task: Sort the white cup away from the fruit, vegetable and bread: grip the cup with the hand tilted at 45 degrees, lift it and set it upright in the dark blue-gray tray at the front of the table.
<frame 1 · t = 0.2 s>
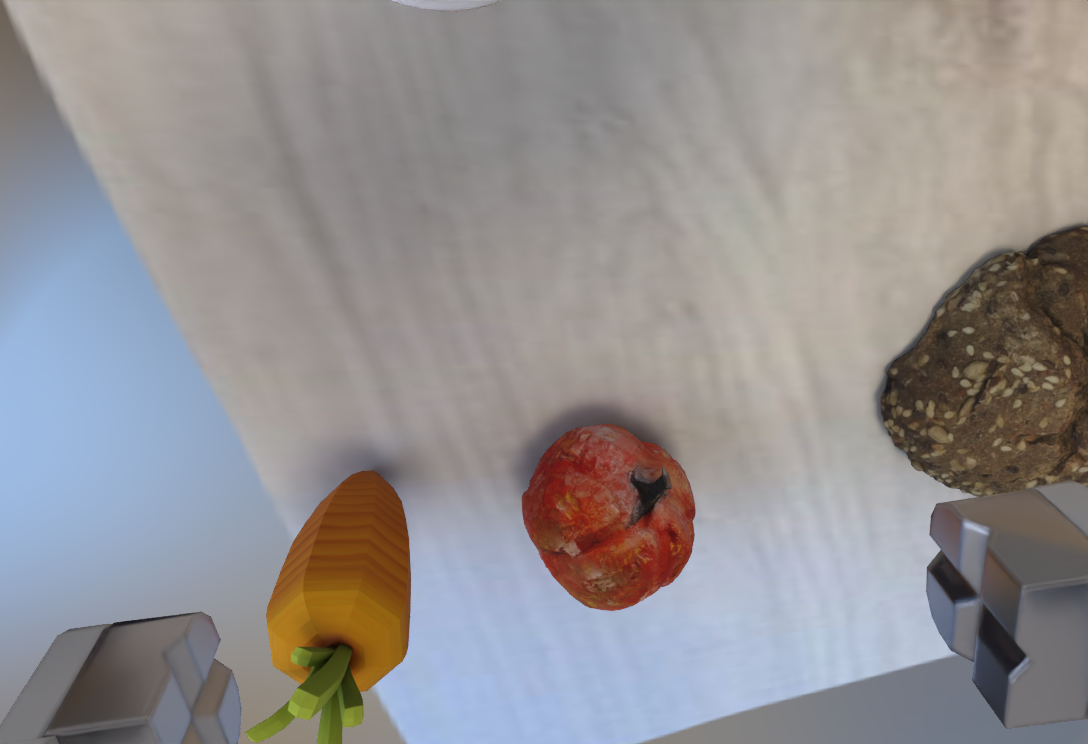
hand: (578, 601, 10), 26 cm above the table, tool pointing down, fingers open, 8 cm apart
carrot: (370, 473, 39), on the table
pomegranate: (596, 474, 40), on the table
bread roll: (1030, 363, 39), on the table
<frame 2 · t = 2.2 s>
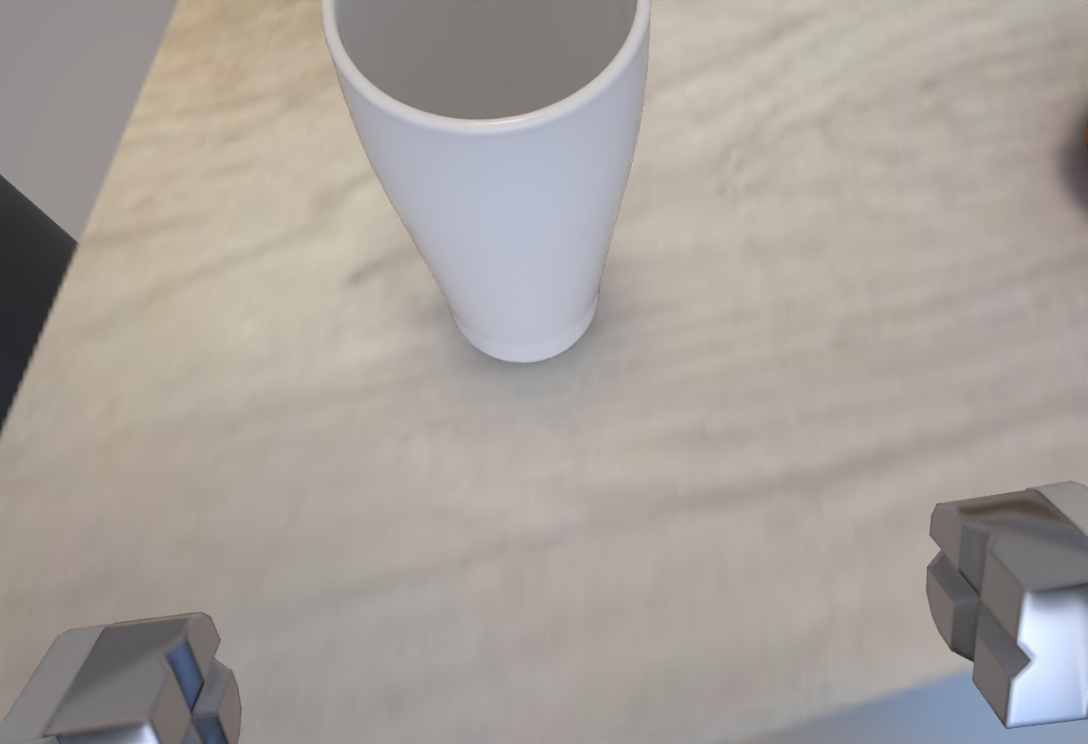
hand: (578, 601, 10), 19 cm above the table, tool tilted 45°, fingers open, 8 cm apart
white cup: (524, 301, 32), on the table
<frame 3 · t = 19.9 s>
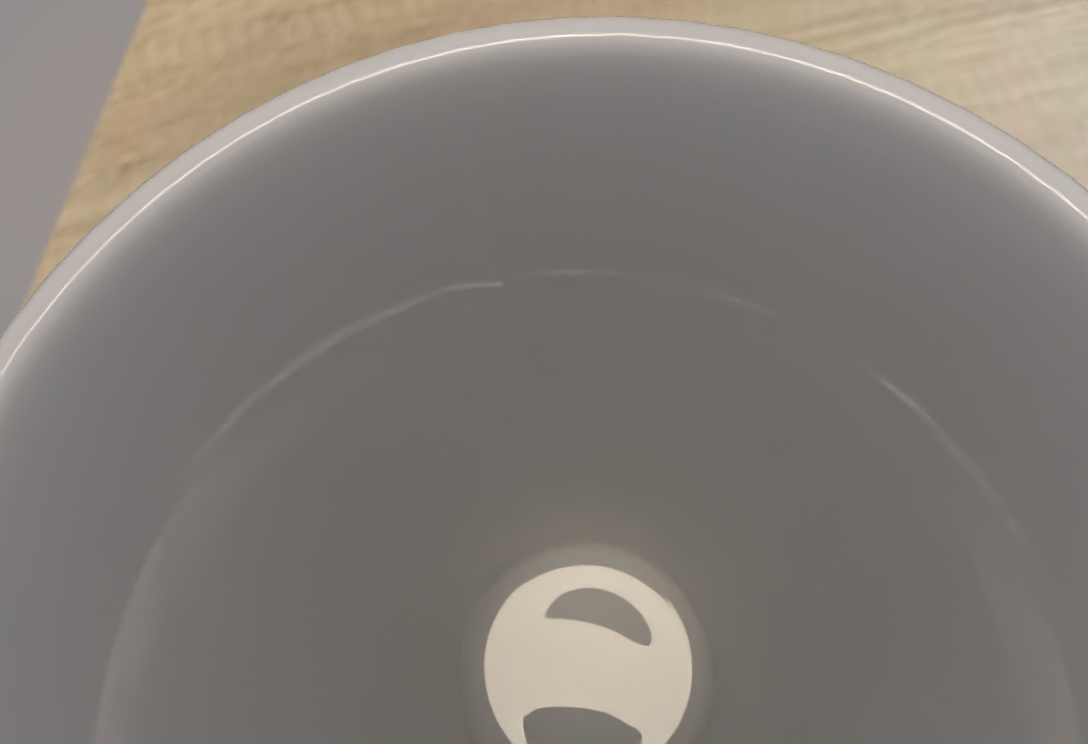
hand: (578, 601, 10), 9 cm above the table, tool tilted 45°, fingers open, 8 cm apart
white cup: (585, 671, 18), resting in dark blue-gray tray
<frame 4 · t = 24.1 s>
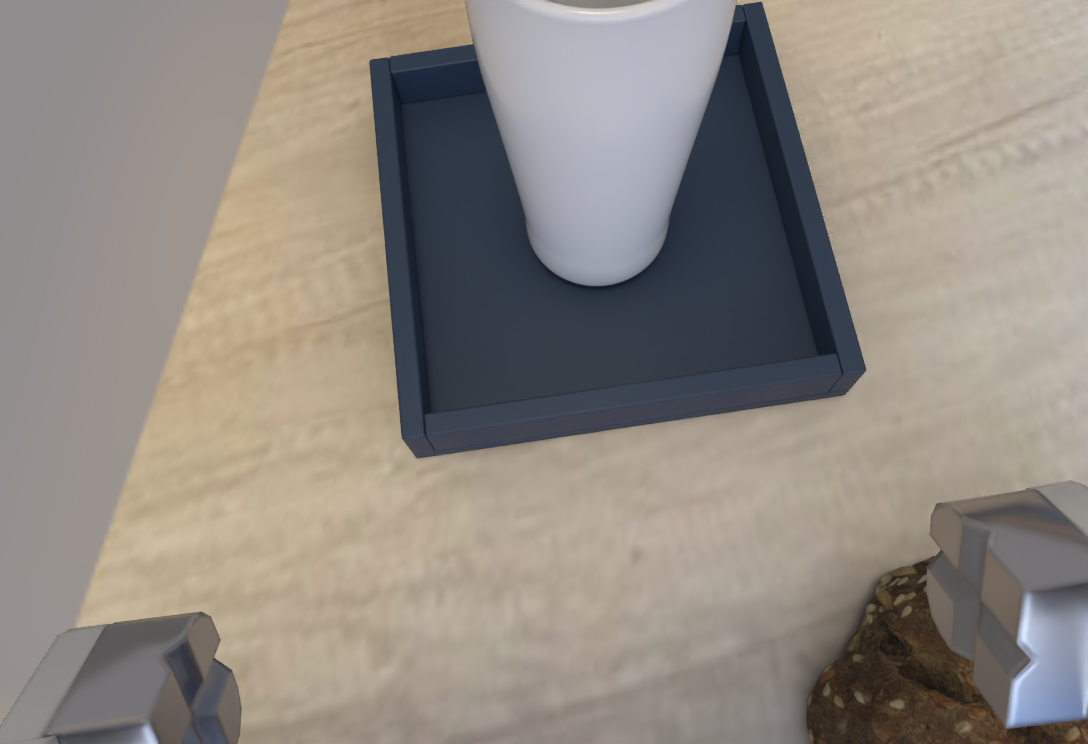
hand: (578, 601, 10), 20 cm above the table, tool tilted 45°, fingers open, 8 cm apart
dark blue-gray tray: (596, 236, 34), on the table
white cup: (596, 231, 34), resting in dark blue-gray tray
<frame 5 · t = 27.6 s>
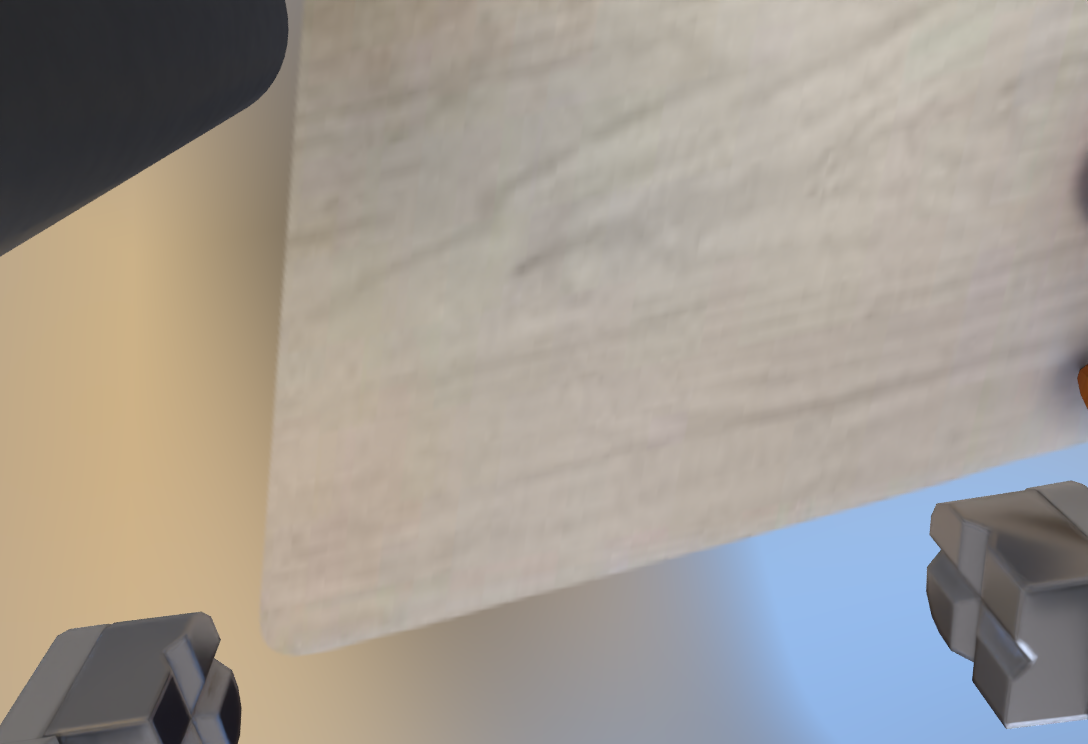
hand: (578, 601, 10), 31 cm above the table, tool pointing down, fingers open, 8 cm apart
carrot: (1080, 368, 45), on the table
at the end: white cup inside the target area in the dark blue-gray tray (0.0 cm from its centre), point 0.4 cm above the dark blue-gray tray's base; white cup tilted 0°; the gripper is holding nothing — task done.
